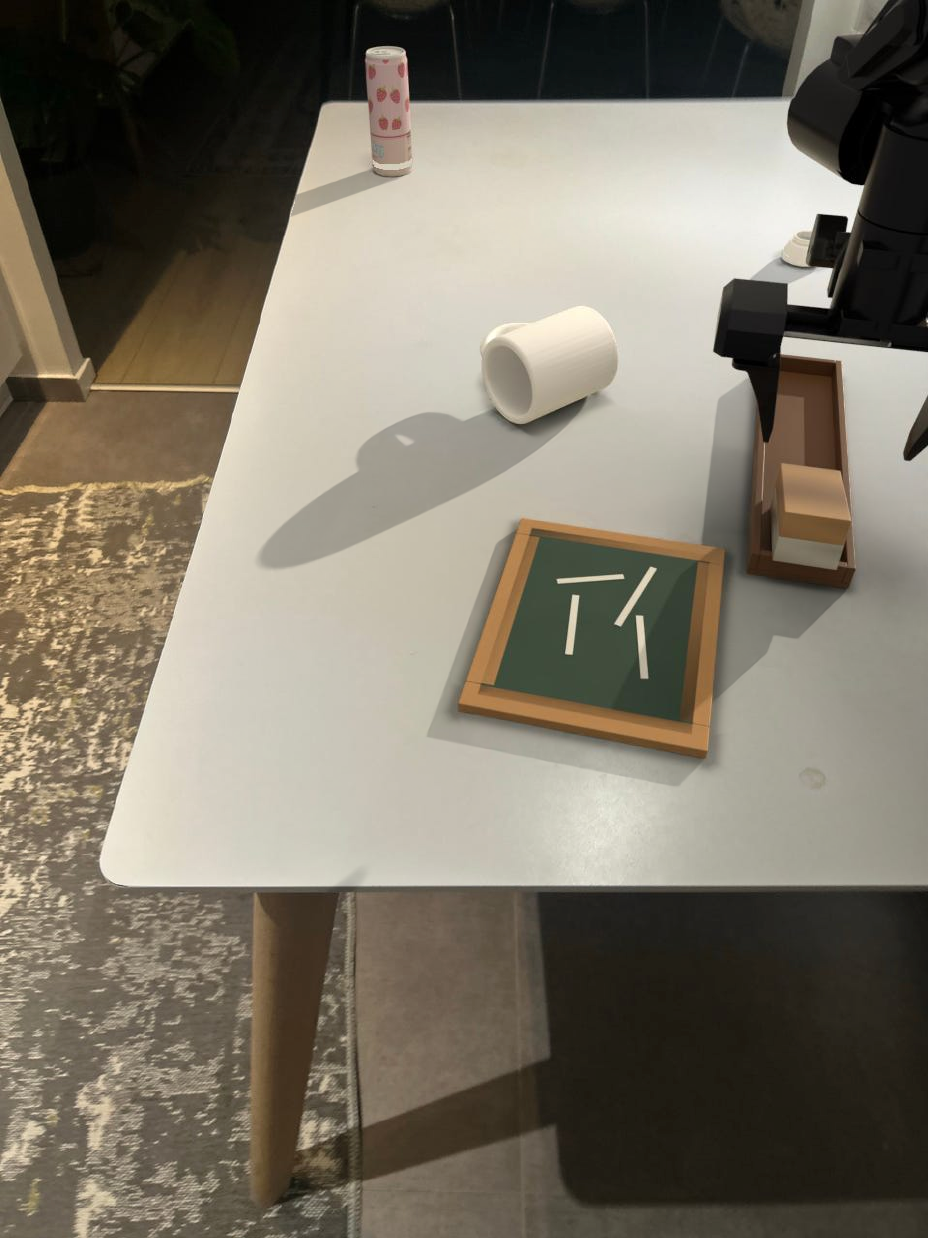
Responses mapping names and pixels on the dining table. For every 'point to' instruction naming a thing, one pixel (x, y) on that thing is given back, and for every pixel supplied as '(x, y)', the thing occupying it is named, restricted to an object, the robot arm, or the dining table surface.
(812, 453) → the chalk tray
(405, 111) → the beverage can
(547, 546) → the chalkboard
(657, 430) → the dining table surface
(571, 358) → the mug
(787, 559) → the eraser
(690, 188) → the dining table surface
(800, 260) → the lidless jar
